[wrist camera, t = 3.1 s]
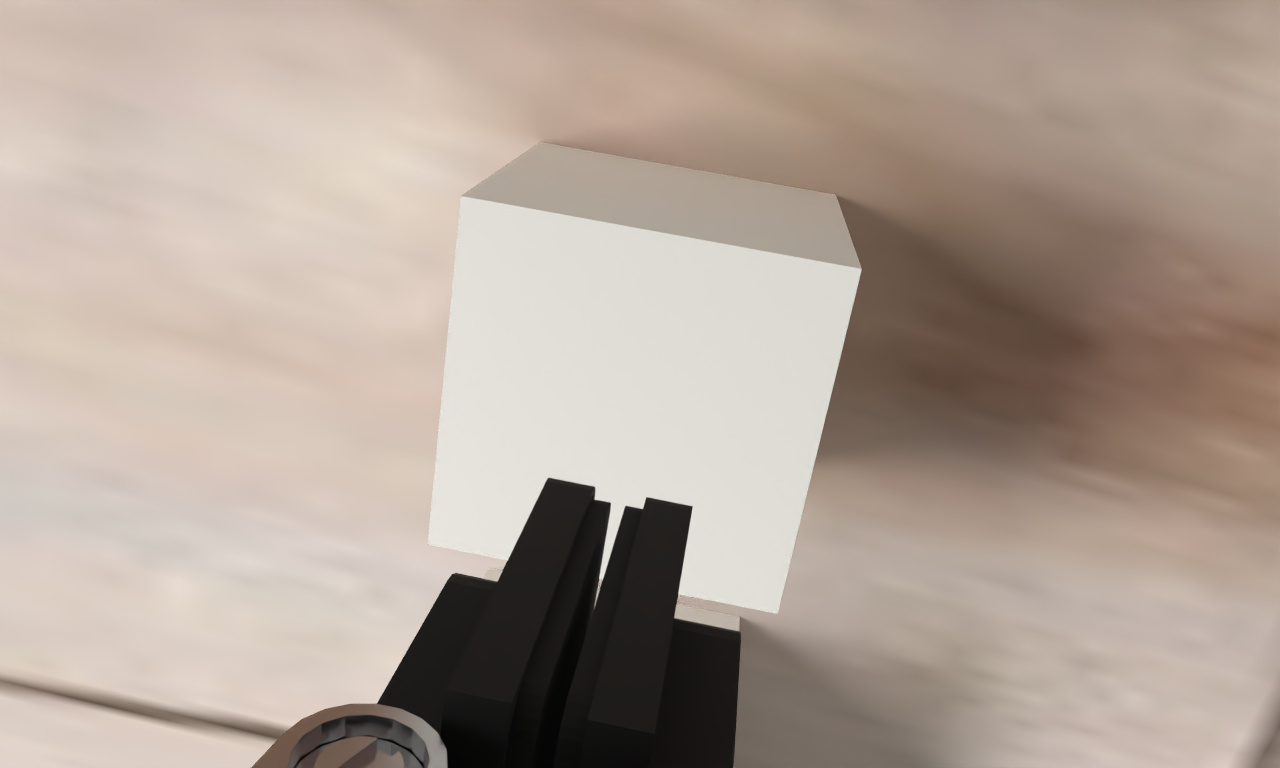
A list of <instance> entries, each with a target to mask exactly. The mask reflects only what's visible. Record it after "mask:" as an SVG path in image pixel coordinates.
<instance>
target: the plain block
mask: <svg viewBox="0 0 1280 768" xmlns="http://www.w3.org/2000/svg"><path fill="white" fill-rule="evenodd" d="M861 271H862V268H861V265H860V262H859V259H858V257H857V254H856V251H855V248H854V245H853V242H852V239H851V237H850V234H849V231H848V228H847V225H846V222H845V220H844V217H843V214H842V211H841V208H840V205H839V202H838V200H837V197H836V195H834V194H829V193H823V192H817V191H812V190H806V189H801V188H795V187H789V186H784V185H778V184H773V183H767V182H762V181H756V180H750V179H745V178H739V177H734V176H728V175H722V174H717V173H711V172H706V171H700V170H695V169H689V168H683V167H678V166H672V165H667V164H661V163H655V162H650V161H644V160H639V159H633V158H628V157H622V156H616V155H611V154H605V153H600V152H594V151H588V150H583V149H577V148H572V147H566V146H561V145H555V144H549V143H544V142H540V143H538V144H537V145H535V146H534V147H532V148H531V149H529V150H528V151H526V152H525V153H523V154H522V155H520V156H519V157H517V158H516V159H515V160H513V161H512V162H510V163H509V164H507V165H506V166H504V167H503V168H501V169H500V170H498V171H497V172H495V173H494V174H493V175H491V176H490V177H488V178H487V179H485V180H484V181H482V182H481V183H479V184H478V185H476V186H475V187H473V188H472V189H471V190H469V191H468V192H466V193H465V194H463V195H462V196H461V202H460V212H459V223H458V233H457V243H456V254H455V264H454V275H453V285H452V296H451V306H450V317H449V327H448V337H447V348H446V358H445V369H444V379H443V390H442V400H441V410H440V421H439V431H438V442H437V452H436V463H435V473H434V484H433V494H432V504H431V515H430V525H429V536H428V545H433V546H438V547H443V548H448V549H453V550H458V551H463V552H468V553H473V554H478V555H483V556H488V557H493V558H498V559H504V560H508V559H509V557H510V555H511V553H512V551H513V549H514V546H515V544H516V542H517V540H518V538H519V536H520V534H521V532H522V530H523V528H524V526H525V524H526V522H527V520H528V518H529V515H530V513H531V511H532V509H533V507H534V505H535V503H536V501H537V499H538V497H539V495H540V493H541V491H542V489H543V487H544V484H545V482H546V480H547V479H548V478H553V479H558V480H563V481H568V482H574V483H579V484H584V485H589V486H594V487H595V500H600V501H605V502H610V503H611V509H610V516H609V522H608V528H607V534H606V540H605V546H604V552H603V558H602V564H601V570H600V576H599V579H603V578H604V574H605V571H606V568H607V565H608V561H609V558H610V555H611V551H612V548H613V545H614V541H615V538H616V535H617V531H618V528H619V525H620V522H621V518H622V515H623V512H624V508H625V506H630V507H635V508H640V509H643V507H644V504H645V500H646V497H649V498H654V499H659V500H664V501H669V502H674V503H679V504H684V505H689V506H693V508H692V514H691V520H690V526H689V532H688V538H687V544H686V550H685V556H684V562H683V568H682V574H681V580H680V586H679V592H678V594H680V595H685V596H690V597H695V598H700V599H705V600H710V601H715V602H720V603H725V604H730V605H735V606H740V607H745V608H750V609H755V610H761V611H766V612H771V613H776V614H778V610H779V606H780V602H781V598H782V594H783V590H784V586H785V582H786V578H787V574H788V569H789V565H790V561H791V557H792V553H793V549H794V545H795V541H796V537H797V533H798V528H799V524H800V520H801V516H802V512H803V508H804V504H805V500H806V496H807V492H808V488H809V483H810V479H811V475H812V471H813V467H814V463H815V459H816V455H817V451H818V447H819V442H820V438H821V434H822V430H823V426H824V422H825V418H826V414H827V410H828V406H829V402H830V397H831V393H832V389H833V385H834V381H835V377H836V373H837V369H838V365H839V361H840V356H841V352H842V348H843V344H844V340H845V336H846V332H847V328H848V324H849V320H850V316H851V311H852V307H853V303H854V299H855V295H856V291H857V287H858V283H859V279H860V275H861Z"/></svg>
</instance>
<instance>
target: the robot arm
mask: <svg viewBox="0 0 1280 768" xmlns="http://www.w3.org/2000/svg"><path fill="white" fill-rule="evenodd" d="M692 508H693V506H689V505H684V504H679V503H674V502H669V501H664V500H659V499H654V498H649V497H646V500H645V504H644V507H643V509H640V508H635V507H630V506H625V508H624V512H623V515H622V518H621V522H620V525H619V528H618V531H617V535H616V538H615V541H614V545H613V548H612V551H611V555H610V558H609V561H608V565H607V568H606V571H605V574H604V578H603V581H602V584H601V588H600V591H599V594H598V598H597V601H596V604H595V600H596V594H597V588H598V582H599V576H600V570H601V564H602V558H603V552H604V546H605V540H606V534H607V528H608V522H609V516H610V509H611V503H610V502H605V501H600V500H595V487H594V486H589V485H584V484H579V483H574V482H568V481H563V480H558V479H553V478H548V479H547V480H546V482H545V484H544V487H543V489H542V491H541V493H540V495H539V497H538V499H537V501H536V503H535V505H534V507H533V509H532V511H531V513H530V515H529V518H528V520H527V522H526V524H525V526H524V528H523V530H522V532H521V534H520V536H519V538H518V540H517V542H516V544H515V546H514V549H513V551H512V553H511V555H510V557H509V559H508V561H507V563H506V565H505V567H504V569H503V571H502V573H501V575H500V577H499V580H498V582H497V581H492V580H487V579H482V578H477V577H473V576H468V575H463V574H458V573H455V574H452V575H451V577H450V578H449V579H448V581H447V582H446V584H445V586H444V588H443V589H442V591H441V593H440V595H439V596H438V598H437V600H436V602H435V603H434V605H433V607H432V609H431V610H430V612H429V614H428V616H427V617H426V619H425V621H424V623H423V624H422V626H421V628H420V630H419V631H418V633H417V635H416V636H415V638H414V640H413V642H412V643H411V645H410V647H409V649H408V650H407V652H406V654H405V656H404V657H403V659H402V661H401V663H400V664H399V666H398V668H397V670H396V671H395V673H394V675H393V677H392V678H391V680H390V682H389V684H388V685H387V687H386V689H385V691H384V692H383V694H382V696H381V698H380V699H379V701H378V703H377V704H347V705H342V706H337V707H333V708H328V709H324V710H322V711H319V712H317V713H315V714H313V715H310V716H308V717H306V718H303V719H301V720H300V721H299V722H298V723H296V724H295V725H294V726H293V727H291V728H290V729H289V730H287V731H286V732H285V733H284V734H283V735H282V736H281V737H280V738H279V739H278V740H277V741H276V742H275V743H274V744H273V745H272V746H271V747H270V748H269V749H268V750H267V752H266V753H265V754H264V755H263V756H262V757H261V758H260V759H259V760H258V761H257V762H256V763H255V764H254V765H253V766H252V767H251V768H734V751H735V733H736V715H737V698H738V680H739V662H740V644H741V633H740V631H735V630H730V629H725V628H720V627H715V626H711V625H706V624H701V623H696V622H691V621H686V620H681V619H677V618H674V616H675V610H676V604H677V598H678V592H679V586H680V580H681V574H682V568H683V562H684V556H685V550H686V544H687V538H688V532H689V526H690V520H691V514H692ZM594 606H595V608H594Z"/></svg>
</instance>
